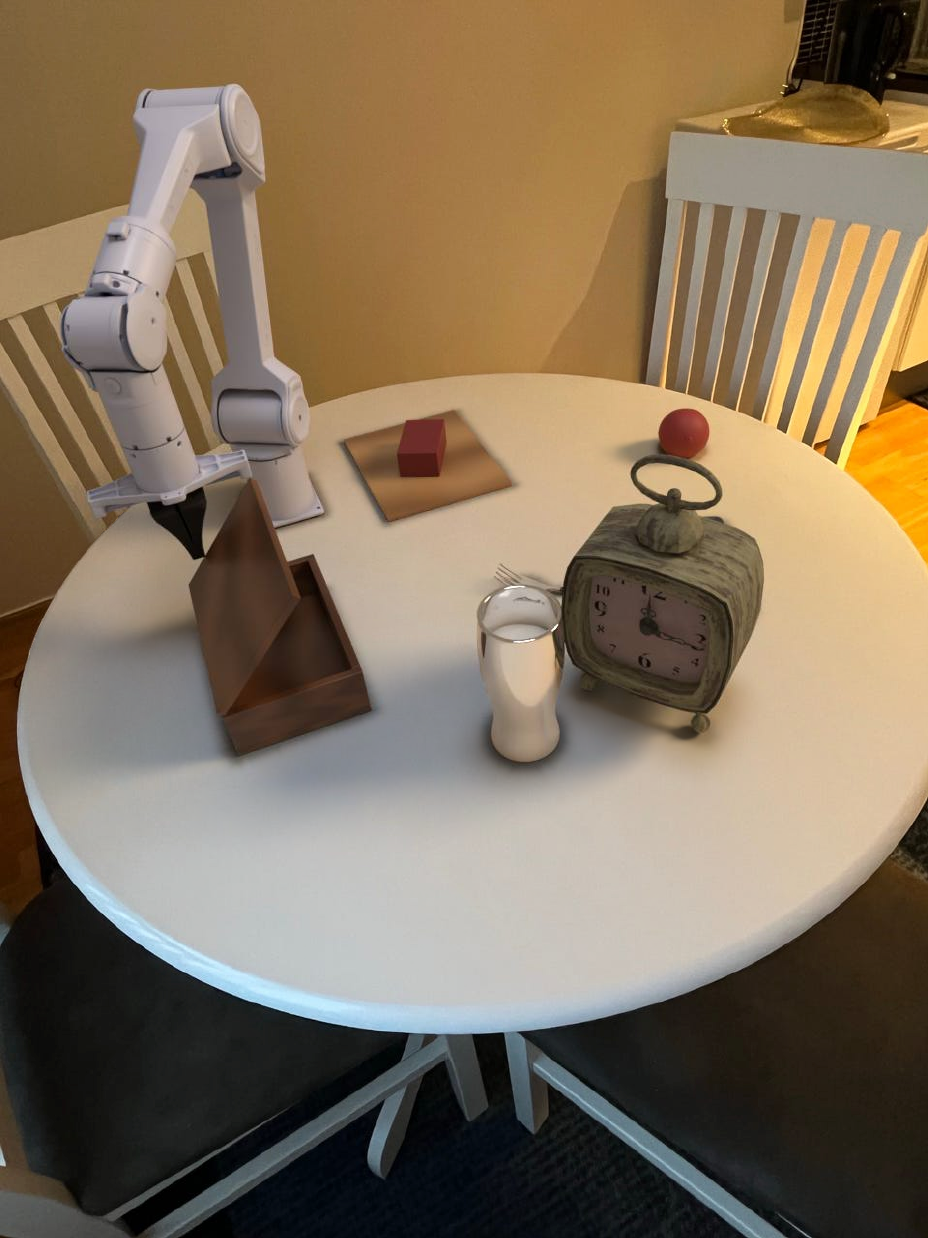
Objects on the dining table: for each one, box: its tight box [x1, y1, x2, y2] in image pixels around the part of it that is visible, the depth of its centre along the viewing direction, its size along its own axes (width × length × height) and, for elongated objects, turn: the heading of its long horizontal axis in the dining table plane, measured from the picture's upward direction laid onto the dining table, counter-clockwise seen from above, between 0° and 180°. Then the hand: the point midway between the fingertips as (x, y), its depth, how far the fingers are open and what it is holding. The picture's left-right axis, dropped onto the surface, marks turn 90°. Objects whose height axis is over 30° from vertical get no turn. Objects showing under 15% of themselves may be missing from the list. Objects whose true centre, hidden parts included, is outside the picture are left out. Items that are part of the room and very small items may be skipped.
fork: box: [493, 562, 563, 593], centre depth 86 cm, size 3×16×2 cm, turn 73°
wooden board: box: [343, 409, 513, 523], centre depth 107 cm, size 20×16×1 cm
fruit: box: [657, 408, 710, 459], centre depth 102 cm, size 6×6×8 cm
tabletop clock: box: [560, 453, 765, 734], centre depth 68 cm, size 14×9×25 cm, turn 58°
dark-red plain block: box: [397, 419, 447, 477], centre depth 106 cm, size 5×8×4 cm, turn 174°
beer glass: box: [476, 583, 566, 763], centre depth 69 cm, size 7×7×15 cm
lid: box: [187, 478, 300, 716], centre depth 75 cm, size 13×19×1 cm
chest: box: [221, 553, 373, 757], centre depth 81 cm, size 13×19×5 cm
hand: (198, 552), depth 83 cm, fingers closed
